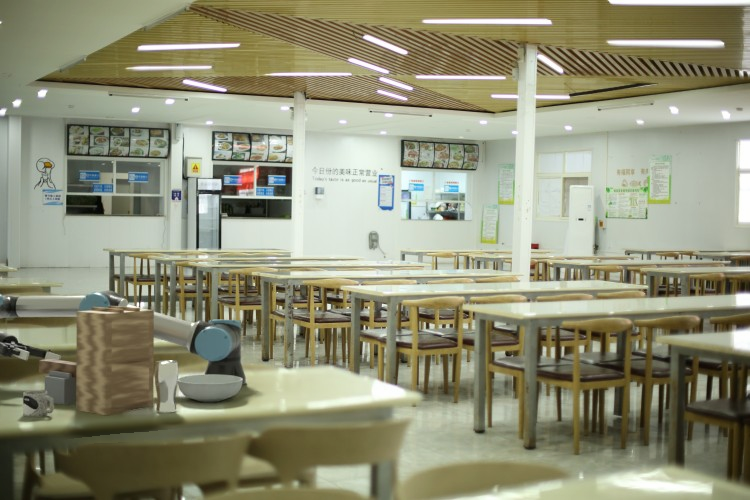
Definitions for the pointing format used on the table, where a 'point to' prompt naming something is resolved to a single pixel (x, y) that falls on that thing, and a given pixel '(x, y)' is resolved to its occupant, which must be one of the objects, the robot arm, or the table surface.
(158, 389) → the beer glass
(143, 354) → the oak stand
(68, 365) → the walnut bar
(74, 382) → the grey cradle
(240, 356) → the robot arm
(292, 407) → the table surface
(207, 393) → the serving bowl
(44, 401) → the mug
